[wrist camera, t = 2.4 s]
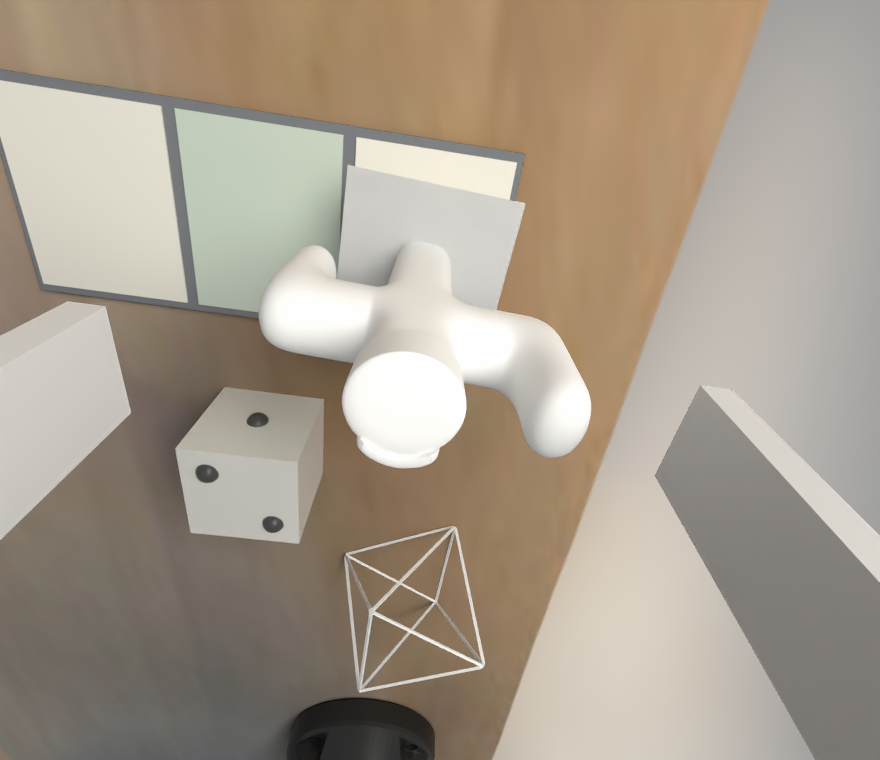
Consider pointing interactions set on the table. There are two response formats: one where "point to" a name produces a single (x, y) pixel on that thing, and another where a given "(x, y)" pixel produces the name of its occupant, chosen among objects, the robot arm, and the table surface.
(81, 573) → the table surface
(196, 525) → the die
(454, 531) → the geometric polyhedron
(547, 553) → the table surface
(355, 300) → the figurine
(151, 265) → the game mat
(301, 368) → the table surface
